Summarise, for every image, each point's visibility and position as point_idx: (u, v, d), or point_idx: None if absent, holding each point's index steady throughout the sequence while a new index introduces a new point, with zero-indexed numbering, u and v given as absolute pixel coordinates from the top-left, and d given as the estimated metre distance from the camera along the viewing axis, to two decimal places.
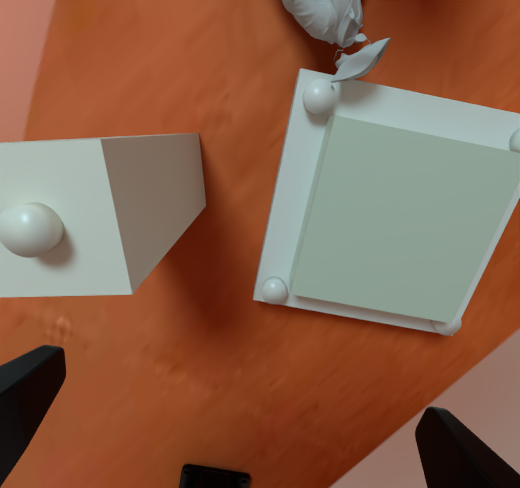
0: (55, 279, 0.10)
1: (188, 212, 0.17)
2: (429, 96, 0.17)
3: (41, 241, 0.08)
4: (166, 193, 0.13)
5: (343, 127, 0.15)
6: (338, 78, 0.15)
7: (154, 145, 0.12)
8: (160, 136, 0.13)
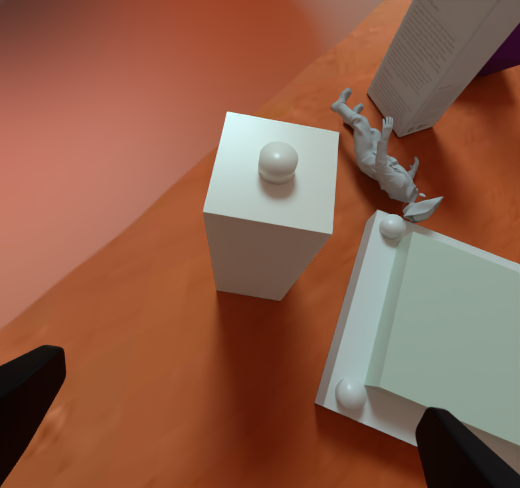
0: (269, 208, 0.11)
1: None
2: (467, 245, 0.23)
3: (291, 165, 0.11)
4: None
5: (419, 240, 0.20)
6: (409, 214, 0.22)
7: None
8: None
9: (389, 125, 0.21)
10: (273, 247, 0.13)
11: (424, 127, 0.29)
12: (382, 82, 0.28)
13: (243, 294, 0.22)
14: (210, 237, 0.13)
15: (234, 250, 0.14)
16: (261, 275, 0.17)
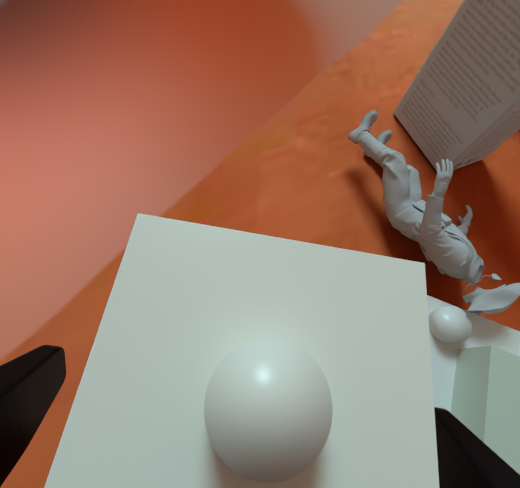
0: None
1: None
2: None
3: (311, 435, 0.03)
4: None
5: (503, 361, 0.13)
6: (478, 308, 0.14)
7: None
8: None
9: (447, 173, 0.14)
10: None
11: (474, 161, 0.21)
12: (417, 101, 0.20)
13: None
14: None
15: None
16: None
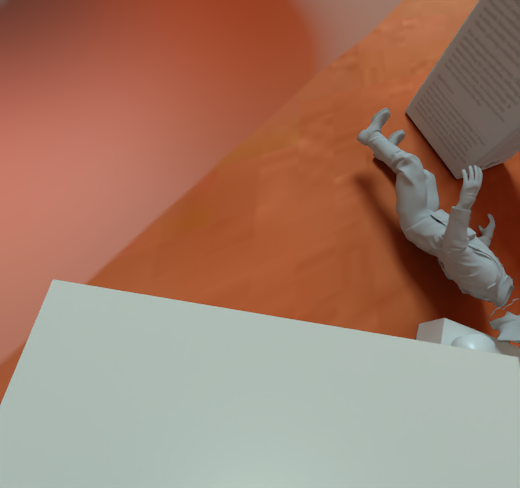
0: None
1: None
2: None
3: None
4: None
5: None
6: (509, 338, 0.12)
7: None
8: None
9: (476, 182, 0.12)
10: None
11: (494, 164, 0.19)
12: (433, 97, 0.18)
13: None
14: None
15: None
16: None
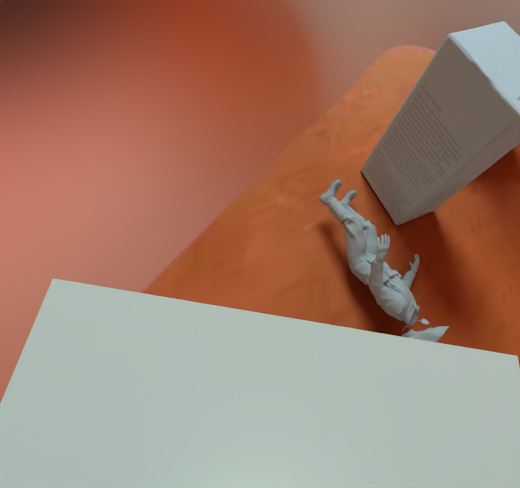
0: None
1: None
2: None
3: None
4: None
5: None
6: None
7: None
8: None
9: (385, 246, 0.18)
10: None
11: (425, 213, 0.26)
12: (377, 166, 0.25)
13: None
14: None
15: None
16: None
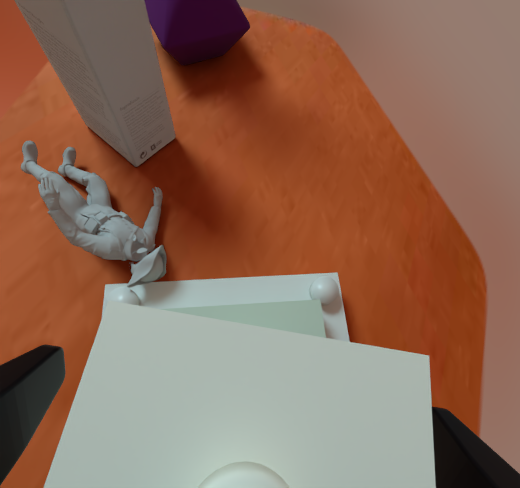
0: None
1: None
2: (226, 279, 0.19)
3: None
4: None
5: None
6: (131, 282, 0.17)
7: None
8: None
9: (47, 190, 0.16)
10: None
11: (162, 144, 0.24)
12: (83, 112, 0.22)
13: None
14: None
15: None
16: None
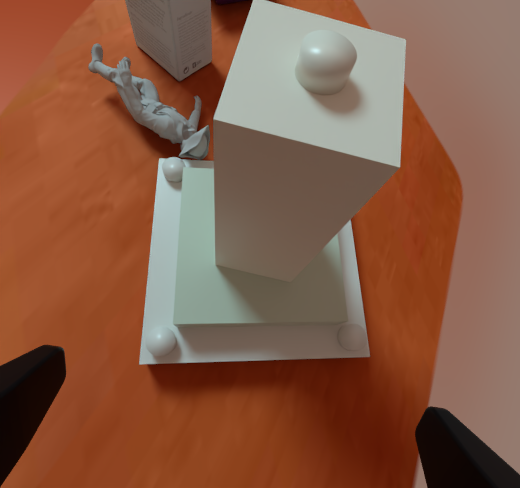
0: (310, 124, 0.08)
1: None
2: None
3: (347, 62, 0.08)
4: None
5: (191, 173, 0.20)
6: (183, 152, 0.22)
7: None
8: None
9: (124, 69, 0.20)
10: (304, 193, 0.09)
11: (201, 64, 0.28)
12: (138, 29, 0.27)
13: (247, 271, 0.18)
14: (218, 174, 0.09)
15: (247, 199, 0.10)
16: (276, 243, 0.14)
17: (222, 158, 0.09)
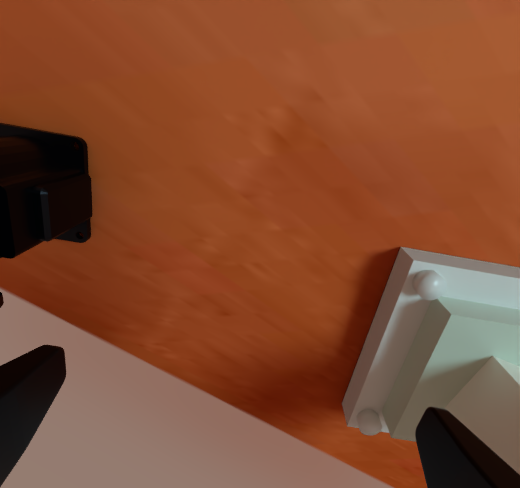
0: None
1: None
2: None
3: None
4: None
5: None
6: None
7: None
8: None
9: None
10: None
11: None
12: None
13: (472, 380, 0.19)
14: None
15: None
16: None
17: None
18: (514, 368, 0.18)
